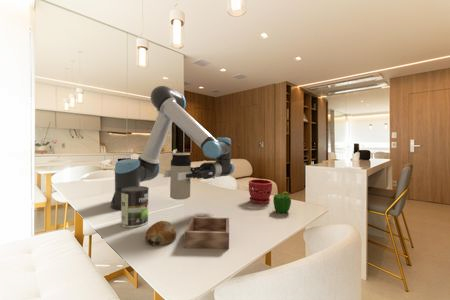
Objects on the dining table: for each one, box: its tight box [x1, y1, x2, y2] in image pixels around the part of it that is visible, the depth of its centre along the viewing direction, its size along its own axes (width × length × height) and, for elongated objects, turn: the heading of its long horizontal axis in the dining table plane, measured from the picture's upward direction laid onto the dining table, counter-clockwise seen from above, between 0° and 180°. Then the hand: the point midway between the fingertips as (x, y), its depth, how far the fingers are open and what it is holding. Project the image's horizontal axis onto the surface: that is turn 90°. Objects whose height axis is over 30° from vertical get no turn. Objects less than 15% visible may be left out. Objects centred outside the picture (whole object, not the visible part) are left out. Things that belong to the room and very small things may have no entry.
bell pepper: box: [273, 191, 292, 214], centre depth 107 cm, size 8×8×10 cm
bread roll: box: [144, 220, 177, 247], centre depth 75 cm, size 10×10×8 cm
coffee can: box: [120, 185, 149, 229], centre depth 89 cm, size 10×10×14 cm
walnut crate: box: [183, 216, 230, 250], centre depth 76 cm, size 14×14×5 cm
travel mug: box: [169, 152, 192, 200], centre depth 89 cm, size 8×8×18 cm
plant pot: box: [248, 178, 273, 205], centre depth 125 cm, size 13×13×12 cm
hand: (171, 175), depth 86 cm, fingers closed on travel mug, 8 cm apart
